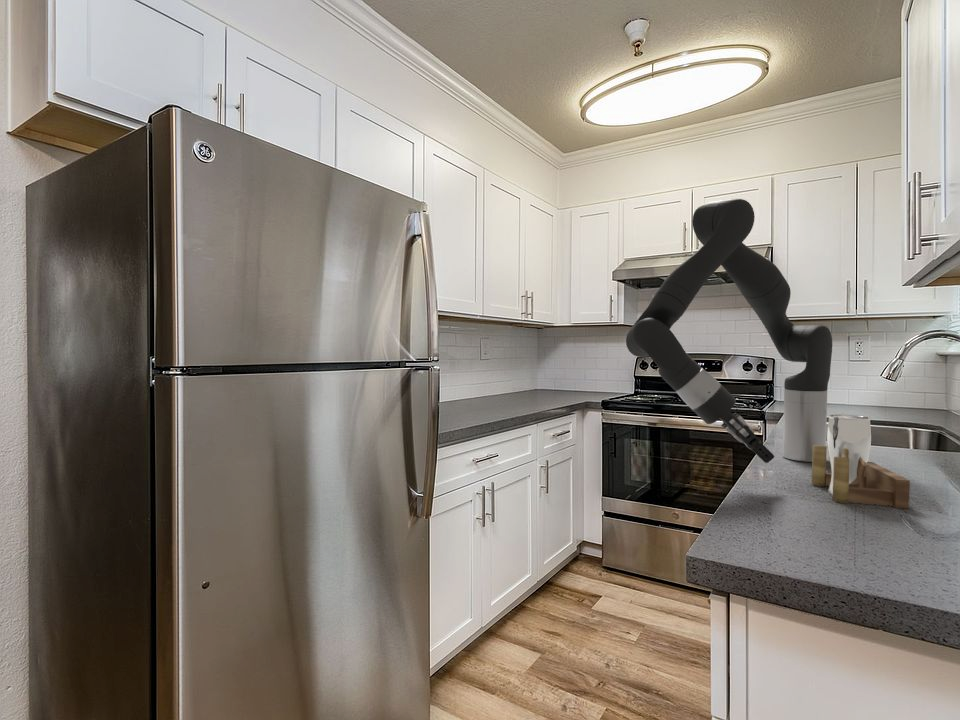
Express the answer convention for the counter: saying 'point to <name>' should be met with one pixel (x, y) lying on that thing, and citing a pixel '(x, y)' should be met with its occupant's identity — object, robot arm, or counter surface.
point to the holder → (877, 480)
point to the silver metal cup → (849, 445)
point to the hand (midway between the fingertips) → (769, 459)
